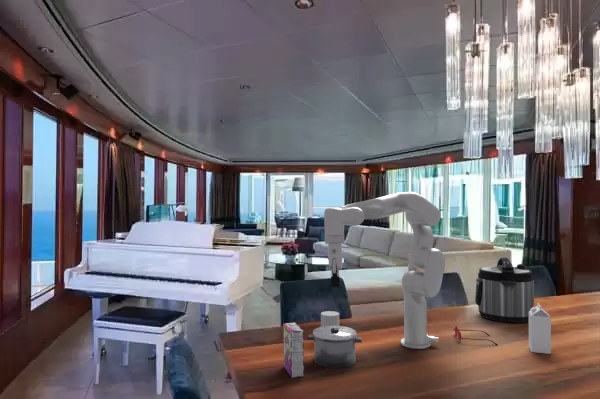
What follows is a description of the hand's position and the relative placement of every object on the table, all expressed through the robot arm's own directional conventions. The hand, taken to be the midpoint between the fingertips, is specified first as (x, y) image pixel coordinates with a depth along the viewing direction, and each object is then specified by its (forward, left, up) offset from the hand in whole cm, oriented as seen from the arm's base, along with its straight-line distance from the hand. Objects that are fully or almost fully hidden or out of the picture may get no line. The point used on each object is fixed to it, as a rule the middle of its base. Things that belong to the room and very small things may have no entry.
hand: (335, 286), depth 172 cm
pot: (0, 0, -29) cm, 29 cm away
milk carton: (-83, -24, -29) cm, 91 cm away
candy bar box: (+14, +14, -29) cm, 35 cm away
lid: (0, 0, -19) cm, 19 cm away
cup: (+4, -24, -29) cm, 38 cm away
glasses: (-60, -35, -30) cm, 75 cm away
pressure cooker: (-84, -77, -29) cm, 117 cm away
